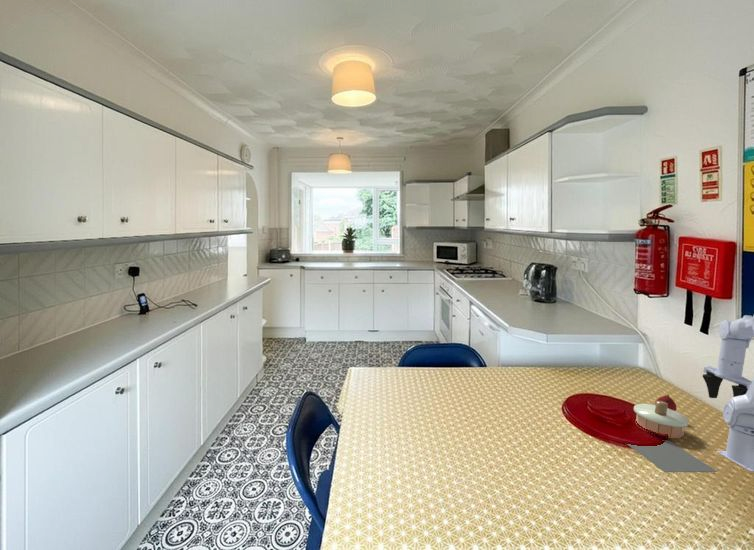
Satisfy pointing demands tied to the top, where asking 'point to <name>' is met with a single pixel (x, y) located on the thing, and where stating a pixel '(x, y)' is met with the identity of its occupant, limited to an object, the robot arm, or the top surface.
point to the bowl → (660, 427)
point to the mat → (672, 458)
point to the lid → (661, 414)
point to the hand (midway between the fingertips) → (724, 402)
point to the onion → (668, 402)
